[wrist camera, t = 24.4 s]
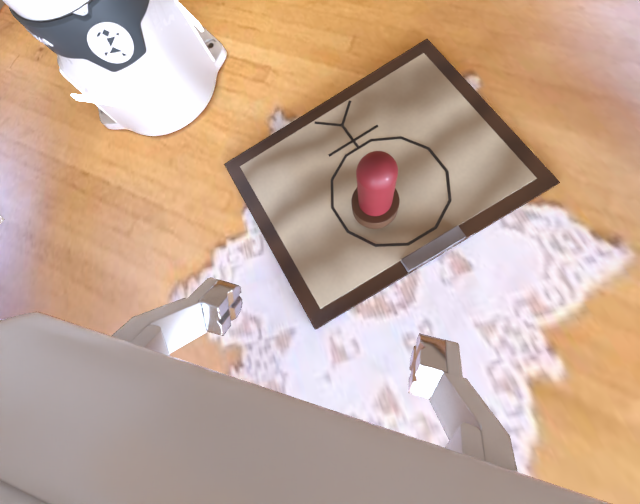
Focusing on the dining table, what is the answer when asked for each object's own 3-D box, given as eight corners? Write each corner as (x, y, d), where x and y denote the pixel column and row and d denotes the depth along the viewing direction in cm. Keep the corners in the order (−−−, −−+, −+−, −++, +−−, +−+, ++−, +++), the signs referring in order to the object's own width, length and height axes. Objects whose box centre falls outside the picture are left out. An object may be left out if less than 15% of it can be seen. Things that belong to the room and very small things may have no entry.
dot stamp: (344, 204, 32) (334, 155, 23) (381, 181, 32) (386, 122, 23) (367, 239, 31) (367, 203, 21) (406, 216, 31) (423, 169, 21)
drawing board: (225, 165, 36) (220, 160, 35) (426, 41, 36) (428, 31, 34) (315, 329, 30) (313, 330, 29) (557, 184, 30) (566, 178, 29)
